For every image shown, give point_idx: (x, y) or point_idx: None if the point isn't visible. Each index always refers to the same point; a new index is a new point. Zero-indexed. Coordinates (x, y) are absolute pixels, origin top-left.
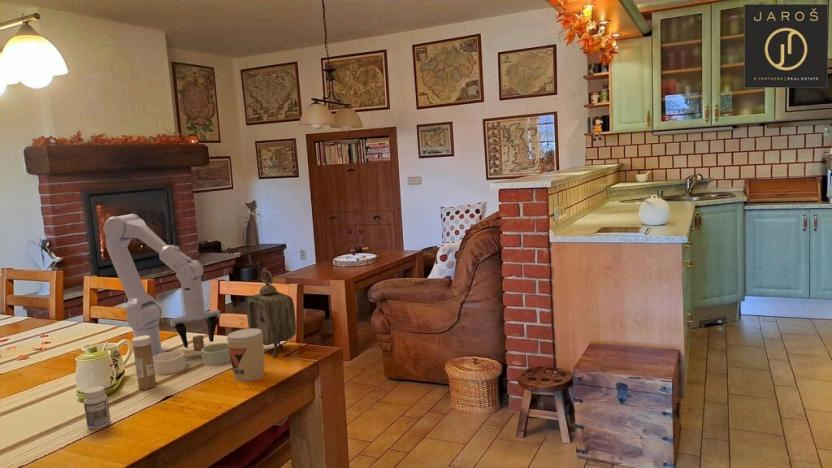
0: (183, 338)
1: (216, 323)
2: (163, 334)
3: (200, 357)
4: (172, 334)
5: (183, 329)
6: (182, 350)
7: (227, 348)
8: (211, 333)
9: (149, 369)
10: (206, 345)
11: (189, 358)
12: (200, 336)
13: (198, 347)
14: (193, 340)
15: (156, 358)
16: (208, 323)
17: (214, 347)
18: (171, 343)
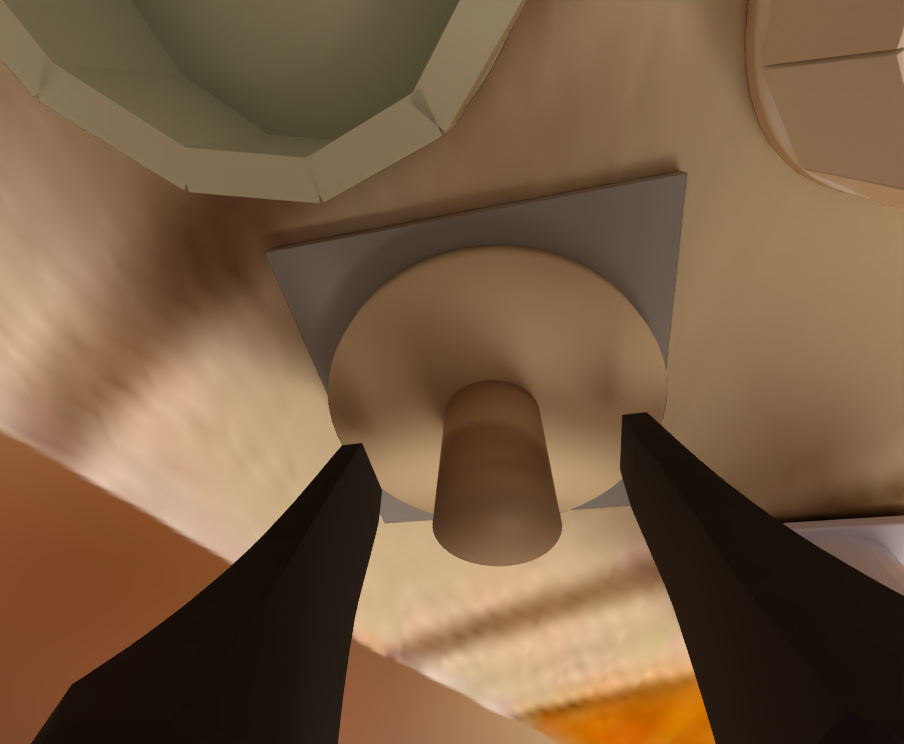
0: (739, 494)
1: (134, 650)
2: (589, 735)
3: (512, 220)
4: (555, 722)
5: (885, 658)
6: None
7: (99, 39)
8: (315, 514)
9: None
10: (419, 474)
11: (622, 266)
12: (463, 514)
13: (503, 401)
14: (553, 486)
15: None
16: (304, 707)
17: (302, 150)
18: (600, 648)
